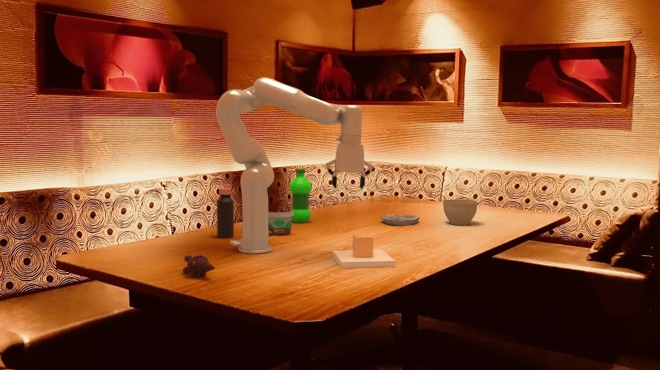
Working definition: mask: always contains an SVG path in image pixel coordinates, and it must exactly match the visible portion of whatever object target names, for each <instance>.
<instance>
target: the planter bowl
mask: <svg viewBox="0 0 660 370" xmlns="http://www.w3.org/2000/svg"><path fill="white" fill-rule="evenodd" d="M442 203H443V204H442V205H443V212H444V215H445V217H446V219H447V220H448V222H449V224H450V225H455V226H467V225H470V224H471V221H473V219H474V218H475V215H476V214H477V211H478V203H479V202H478V201H477V200H472V199H459V198H458V199H444V200H442Z"/></svg>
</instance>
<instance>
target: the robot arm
mask: <svg viewBox="0 0 660 370" xmlns="http://www.w3.org/2000/svg"><path fill="white" fill-rule="evenodd" d="M269 104H270V105H272V106H274V107H278V108H280V109H282V110H285V111H288V112H290V113H292V114H295V115H299V116H301V117H303V118H305V119H308V120H310V121H314V122H316V123H319V124H321V125H325V126H334V125H340V133H339V135H338V136H335V140H336V141H338V144H337V147H336V151H335V159H332V160H330V161H328V162H326V163H325V164H324V166H325V168H326V171H327V172H328V173H329V174H330V175H331V186H333V188H334V189H336V188H337V185H338V182H337V181H338V177H337V175H338V174H339V173H359V174H360V178H359V189H364V187H365V186H366V178H367V176H368V175H369V174H370V173H371V172H372V170H373V169H374V165H373V164H371V163H369V162H367V161H366V160H365V149H364V147H365V146H364V144H362V129H363V128H362V127H363V108H362V106H361V105H354V104H346V105H340V104H335V103H330V102H326V101H323V100H320V99H318V98H316V97H313V96H310V95H308V94H306V93H305V92H304V91H302V90H301V89H299V88H297V87H293V86H291V85H287V84H285V83H283V82H280V81H278V80H275V79H274V78H270V77H265V76H264V77H260V78H257V79H256V80H255V81H254V82H253V85H252V86H250V87H247V88H245V89H243V90H242V89H230V90H227V91H225V92H224V93H223V94H222V95H221V96H220V98H219V99H218V101H217V104H216V108H215V115H216V120H217V123H218V125H219V128H220V129H221V132H222V135H223V137H224V140H225V143H226V144H227V146H228V149H229V152H230V154H231V156H232V158H233V160H234V161H235V162H236V163H237V164H239V165H244V167H245V169H244V171H243V172H242V174H241V176H240V189H241V201H242V203H241V204H242V205H241V206H242V207H241V209H242V216H241V217H242V236H241V238H239V239H229V240H230V243H229V244H230V246H233V247H236V246H237V247H238V251H239V252H240V253H244V254H253V255H254V254H257V255H258V254H266V253H270V252H272V251H273V246H272V245H269V233H268V212H269V196H268V195H269V194H268V188H269V187H271V185H272V184H273V183H274V180H275V171H274V168H273V167H272V165H271V162H270V159H269V158H268V155H267V153H266V151H265V149H264V147H263V145H262V143H261V142H260V141H259V140H258V139H256V138H253V137H250V135H249V132H248V130H247V128H246V124H244V121H243V120H242V118H241V115H240V114H245V113H249V112H252V111H255V110H257V109H259V108H262V107H264V106H266V105H269ZM332 165H334V170H332V168H331V166H332ZM365 166H366V167H367V169H366V171H365Z"/></svg>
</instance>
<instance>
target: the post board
mask: <svg viewBox="0 0 660 370" xmlns="http://www.w3.org/2000/svg"><path fill="white" fill-rule="evenodd" d="M352 253H353V249H349V250H332V258H333V259H334V260H335V261H336V262H337V264H338V266H340V268H341V269H355V268H360V269H361V268H386V267H387V268H390V267H391V268H392V267H396V266H395V262H396V261H395V260H394V258H392V257H391V256H390V255H389V254H387V253H386V252H385V251H384V250H383V249H373V257H367V258H356V257H355V256H354V255H353V254H352Z"/></svg>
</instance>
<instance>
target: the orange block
mask: <svg viewBox="0 0 660 370" xmlns="http://www.w3.org/2000/svg"><path fill="white" fill-rule="evenodd" d="M352 250H353V253H352V254H353V255H354V256H355V257H356V258H367V257H373V250H374V237H373V235H371V234H370V233H356V234H352Z"/></svg>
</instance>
